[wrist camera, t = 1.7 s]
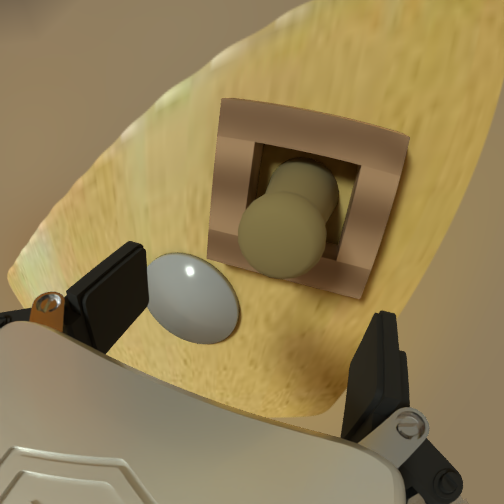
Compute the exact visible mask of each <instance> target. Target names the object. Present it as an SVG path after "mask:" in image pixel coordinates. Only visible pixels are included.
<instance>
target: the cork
mask: <svg viewBox="0 0 504 504" xmlns="http://www.w3.org/2000/svg"><path fill="white" fill-rule="evenodd" d="M338 194H339V190H338V185H337V181H336V179H335V177H334V176H333V174H332V172H331V171H330V170H329V169H328V168H327V167H326V166H325V165H323V164H322V163H320V162H318V161H316V160H314V159H311V158H302V157H299V158H294V159H290V160H288V161H286V162H284V163H283V164H281V165H280V166H279V167H278V168H277V169H276V170H275V172H274V173H273V175H272V177H271V180H270V182H269V185H268V188H267V190H266V193H265V194H264V195H263V196H261V197H259V198H258V199H256V200H254V201H253V202H252V203H251V204H250V206H249V207H248V208H247V209H246V210H245V212H244V213H243V215H242V218H241V220H240V223H239V227H238V243H239V246H240V249H241V252H242V254H243V256H244V257H245V259H246V260H247V261H248V263H249V264H250V265H251V266H252V267H253V268H254V269H255V270H257V271H258V272H259V273H261V274H263V275H266V276H268V277H270V278H277V279H289V278H296V277H299V276H301V275H303V274H305V273H307V272H308V271H309V270H311V269H312V268H313V267H314V266H315V265H316V264H317V263H318V262H319V260H320V258H321V256H322V254H323V252H324V250H325V244H326V236H327V231H326V227H325V224H326V222H327V221H328V219H329V217H330V216H331V214H332V212H333V211H334V208H335V206H336V204H337V202H338Z"/></svg>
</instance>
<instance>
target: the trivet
mask: <svg viewBox="0 0 504 504" xmlns="http://www.w3.org/2000/svg"><path fill="white" fill-rule="evenodd" d="M147 276H148V289H149V304H148V306H147V307H148V309H149V311H150V312H151V314H152V315H153V317H154V318H155V319H156V320H157V321H158V322H159V324H160V325H162V326H163V327H164V328H165V329H166V330H168V331H169V332H170V333H172V334H174V335H175V336H177V337H179V338H181V339H183V340H186V341H189V342H192V343H197V344H212V343H216V342H220V341H222V340H224V339H225V338H227V337H228V336H229V335H230V334H231V333H232V331H233V330H234V328H235V326H236V324H237V321H238V318H239V303H238V299H237V296H236V293H235V291H234V289H233V287H232V286H231V284H230V283H229V281H228V280H227V279H226V277H225V276H224V275H223V274H222V273H221V272H220V271H219V270H218V269H217V268H215V267H214V266H213V265H211V264H210V263H208V262H207V261H205V260H203V259H201V258H199V257H196V256H193V255H190V254H186V253H168V254H164V255H162V256H160V257H158V258H156V259H155V260H154V261H153V262H152V263H151V264H150V265H149V266H148V267H147Z"/></svg>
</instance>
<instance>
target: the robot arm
mask: <svg viewBox="0 0 504 504" xmlns="http://www.w3.org/2000/svg"><path fill="white" fill-rule="evenodd" d="M66 293H67V295H66V296H65V297H63V295H62V294H60V293H58V292H46V293H43V294H41V295H39V296H38V297H37V298H36V299H35V300H34V302H33V304H32V308H27V309H21V310H15V311H8V312H2V313H0V504H468V502H467V500H466V499H464V500H463V499H462V497H461V495H460V494H461V492H462V489H463V481H462V478H461V475H460V474H459V472H458V471H457V470H456V469H455V468H454V467H453V466H452V465H451V464H450V463H449V462H448V460H446V458H445V457H444V456H443V455H442V454H441V453H440V452H439V451H438V450H437V449H436V448H435V447H434V446H433V445H432V444H431V442H430V441H429V440H428V439H427V436H428V434H429V423H428V421H427V419H426V417H425V416H424V415H423V414H422V413H421V412H420V411H418V410H417V409H414V408H410V401H409V383H408V369H407V357H406V353H405V352H404V351H400V350H399V344H398V332H397V322H396V315H395V314H394V313H390V312H386V311H382V310H381V311H380V312H379V314H378V313H375V314H374V315H373V317H372V320H371V322H370V324H369V326H368V328H367V330H366V332H365V335H364V337H363V339H362V341H361V343H360V345H359V347H358V349H357V351H356V353H355V355H354V357H353V359H352V361H351V364H350V368H349V377H348V386H347V395H346V403H345V411H344V418H343V425H342V431H341V438H339V437H335V436H331V435H328V434H324V433H321V432H316V431H312V430H309V429H304V428H301V427H297V426H294V425H290V424H286V423H283V422H279V421H276V420H272V419H269V418H266V417H262V416H259V415H256V414H252V413H249V412H246V411H243V410H240V409H237V408H234V407H231V406H228V405H225V404H222V403H219V402H216V401H214V400H211V399H208V398H205V397H203V396H200V395H197V394H195V393H192V392H189V391H187V390H184V389H182V388H179V387H177V386H174V385H172V384H169V383H167V382H165V381H162V380H160V379H157V378H155V377H153V376H150V375H148V374H146V373H144V372H141V371H139V370H137V369H135V368H133V367H130V366H128V365H126V364H124V363H122V362H120V361H118V360H116V359H114V358H112V357H110V356H107V355H105V354H106V353H107V352H108V351H109V350H110V348H111V347H112V346H113V345H114V344H115V343H116V341H117V340H118V339H119V338H120V337H121V336H122V335H123V333H124V332H125V331H126V330H127V329H128V328H129V327H130V325H131V324H132V323H133V322H134V321H135V320H136V319H137V317H138V316H139V315H140V314H141V313H142V312H143V311H144V310H145V308H146V307H147V306H148V304H149V289H148V276H147V261H146V250H145V249H144V248H143V245H142V244H139V243H136V242H132V241H128V242H127V243H125V244H124V245H123V246H122V247H120V248H119V249H118V250H116V251H115V252H114V253H112V254H111V255H110V256H109V257H107V258H106V259H105V260H104V261H102V262H101V263H100V264H98V265H97V266H96V267H95V268H93V269H92V270H91V271H90V272H89V273H87V274H86V275H85V276H84V277H82V278H81V279H80V280H79V281H77V282H76V283H75V284H74V285H73V286H71V287H70V288H69V289H68V290H67V291H66Z"/></svg>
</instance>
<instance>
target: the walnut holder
mask: <svg viewBox="0 0 504 504" xmlns="http://www.w3.org/2000/svg"><path fill="white" fill-rule="evenodd" d="M409 140H410V137H409V136H407V135H405V134H403V133H400V132H397V131H394V130H390V129H387V128H383V127H380V126H376V125H372V124H369V123H365V122H361V121H357V120H353V119H349V118H345V117H341V116H336V115H332V114H327V113H323V112H318V111H313V110H308V109H303V108H297V107H292V106H286V105H280V104H274V103H267V102H260V101H253V100H245V99H237V98H222V99H221V108H220V116H219V125H218V134H217V144H216V153H215V163H214V174H213V185H212V196H211V208H210V220H209V233H208V247H207V259H210V260H213V261H217V262H221V263H224V264H228V265H232V266H235V267H239V268H243V269H246V270H250V271H254V272H257V273H259V272H258V271H257V270H255V269H254V268H253V267H252V266H251V265H250V264H249V263H248V261H247V260H246V259H245V257H244V256H243V254H242V252H241V249H240V246H239V243H238V227H239V223H240V220H241V218H242V215H243V213H244V212H245V210H246V209H247V208H248V207H249V206H250V204H251V203H252V202H253V201H254V200H256V193H257V186H258V179H259V172H260V165H261V158H262V151H263V145H264V144H269V145H274V146H279V147H285V148H290V149H294V150H299V151H304V152H308V153H313V154H317V155H322V156H326V157H330V158H334V159H339V160H343V161H347V162H351V163H354V164H358V169H357V173H356V177H355V182H354V186H353V190H352V194H351V198H350V202H349V206H348V210H347V213H346V217H345V221H344V225H343V229H342V232H341V236H340V239H339V243H338V245H335V244H331V243H328V242H326V244H325V250H324V252H323V254H322V256H321V258H320V260H319V262H318V263H317V264H316V265H315V266H314V267H313V268H312V269H311V270H309V271H308V272H307V273H305V274H303V275H301V276H299V277H296V278H289V279H284V280H287V281H291V282H295V283H299V284H303V285H307V286H310V287H314V288H318V289H322V290H326V291H330V292H334V293H337V294H341V295H345V296H349V297H353V298H357V299H360V298H361V296H362V293H363V290H364V288H365V285H366V283H367V280H368V277H369V274H370V272H371V269H372V266H373V263H374V260H375V258H376V255H377V252H378V249H379V246H380V243H381V240H382V237H383V234H384V231H385V227H386V224H387V221H388V218H389V215H390V211H391V208H392V205H393V201H394V198H395V194H396V191H397V187H398V184H399V180H400V176H401V172H402V168H403V165H404V161H405V157H406V153H407V148H408V144H409Z"/></svg>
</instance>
